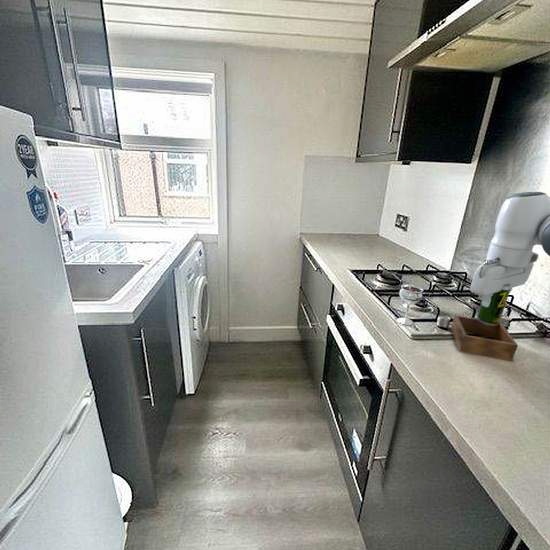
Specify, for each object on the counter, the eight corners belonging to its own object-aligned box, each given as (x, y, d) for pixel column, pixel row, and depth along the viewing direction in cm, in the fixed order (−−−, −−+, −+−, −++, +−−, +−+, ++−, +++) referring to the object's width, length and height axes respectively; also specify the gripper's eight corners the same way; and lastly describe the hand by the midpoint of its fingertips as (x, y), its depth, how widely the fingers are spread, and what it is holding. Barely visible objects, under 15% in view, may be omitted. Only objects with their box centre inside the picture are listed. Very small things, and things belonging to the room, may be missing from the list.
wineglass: (393, 314, 104) (399, 282, 99) (414, 317, 102) (421, 285, 98) (394, 324, 97) (401, 290, 93) (417, 328, 96) (425, 293, 91)
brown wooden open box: (496, 336, 92) (501, 322, 90) (512, 361, 81) (518, 345, 79) (450, 328, 96) (454, 314, 94) (459, 351, 85) (464, 335, 83)
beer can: (473, 320, 86) (484, 281, 82) (481, 315, 89) (492, 277, 85) (494, 328, 82) (507, 288, 78) (502, 322, 85) (515, 283, 81)
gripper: (496, 265, 72) (481, 316, 77) (542, 254, 80) (526, 301, 85) (470, 257, 77) (458, 306, 82) (516, 248, 85) (502, 292, 90)
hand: (493, 303), depth 84 cm, fingers closed on beer can, 5 cm apart
